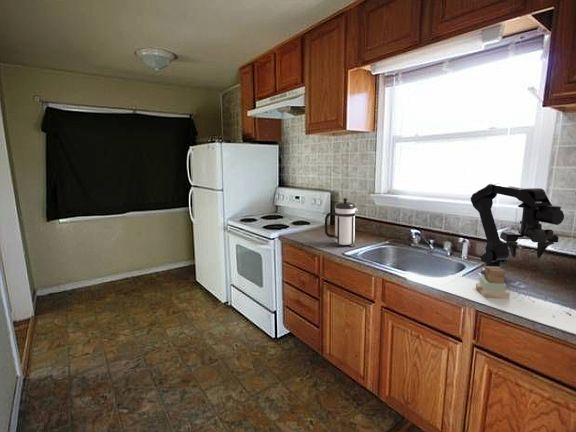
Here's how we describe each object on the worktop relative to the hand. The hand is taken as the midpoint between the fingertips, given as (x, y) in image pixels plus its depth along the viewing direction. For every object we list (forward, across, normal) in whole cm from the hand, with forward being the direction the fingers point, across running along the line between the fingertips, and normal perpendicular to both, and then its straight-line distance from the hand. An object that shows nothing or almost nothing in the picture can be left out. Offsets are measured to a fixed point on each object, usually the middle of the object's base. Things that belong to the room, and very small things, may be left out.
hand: (526, 257), depth 130 cm
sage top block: (+10, -15, -8) cm, 20 cm away
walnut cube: (+8, -15, -8) cm, 18 cm away
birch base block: (+14, -15, -8) cm, 22 cm away
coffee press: (+13, -73, +60) cm, 95 cm away
